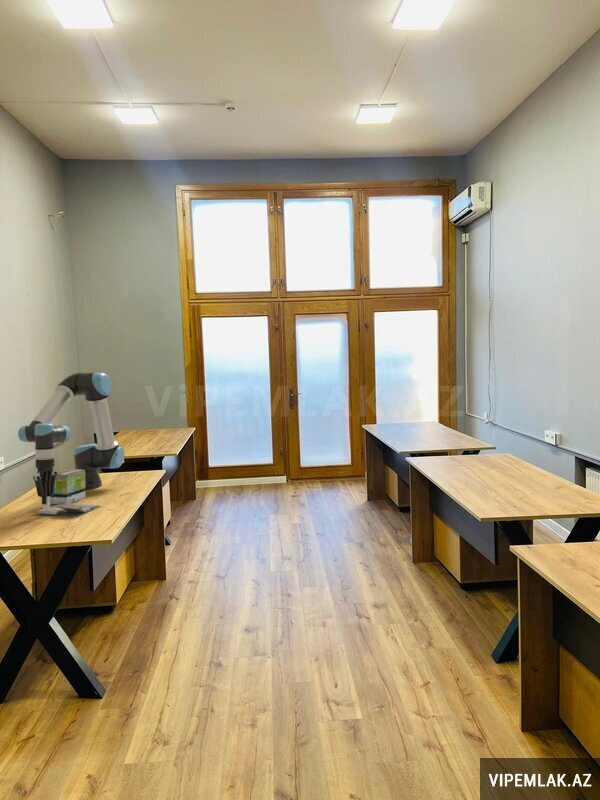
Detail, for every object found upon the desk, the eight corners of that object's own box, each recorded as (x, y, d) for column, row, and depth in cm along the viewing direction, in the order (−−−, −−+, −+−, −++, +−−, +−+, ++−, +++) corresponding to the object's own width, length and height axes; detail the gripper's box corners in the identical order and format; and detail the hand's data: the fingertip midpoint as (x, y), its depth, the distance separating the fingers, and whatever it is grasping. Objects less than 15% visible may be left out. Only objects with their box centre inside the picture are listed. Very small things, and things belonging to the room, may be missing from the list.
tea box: (67, 505, 253) (66, 474, 253) (49, 504, 255) (48, 473, 255) (86, 497, 268) (85, 468, 267) (68, 497, 270) (67, 468, 269)
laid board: (61, 505, 253) (60, 502, 253) (98, 507, 249) (98, 504, 249) (49, 509, 246) (49, 507, 246) (88, 511, 241) (87, 509, 241)
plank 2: (67, 511, 242) (68, 508, 243) (86, 512, 240) (86, 509, 241) (57, 507, 235) (57, 504, 236) (76, 508, 233) (76, 505, 234)
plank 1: (49, 510, 245) (49, 507, 245) (67, 511, 243) (67, 508, 243) (37, 513, 237) (37, 510, 237) (55, 514, 235) (55, 511, 235)
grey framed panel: (62, 504, 256) (62, 503, 256) (102, 506, 251) (102, 506, 251) (34, 515, 237) (34, 515, 237) (77, 518, 232) (77, 517, 232)
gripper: (47, 456, 242) (48, 507, 243) (27, 460, 230) (28, 514, 231) (61, 456, 241) (63, 507, 242) (42, 460, 228) (43, 515, 229)
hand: (46, 510), depth 236 cm, fingers closed
